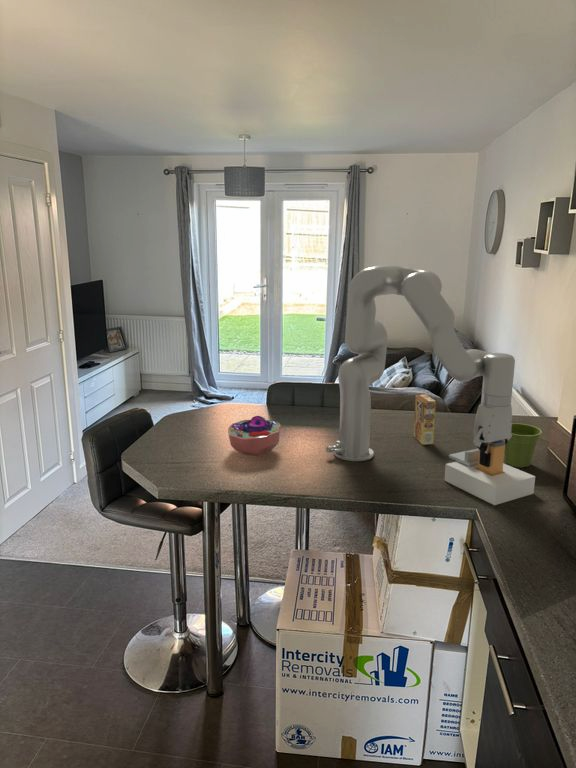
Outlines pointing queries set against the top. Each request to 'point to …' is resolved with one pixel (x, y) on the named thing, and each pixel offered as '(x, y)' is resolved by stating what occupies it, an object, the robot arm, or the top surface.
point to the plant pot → (521, 445)
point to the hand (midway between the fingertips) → (490, 463)
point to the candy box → (424, 419)
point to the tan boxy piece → (494, 458)
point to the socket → (490, 482)
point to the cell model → (254, 435)
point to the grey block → (467, 457)
